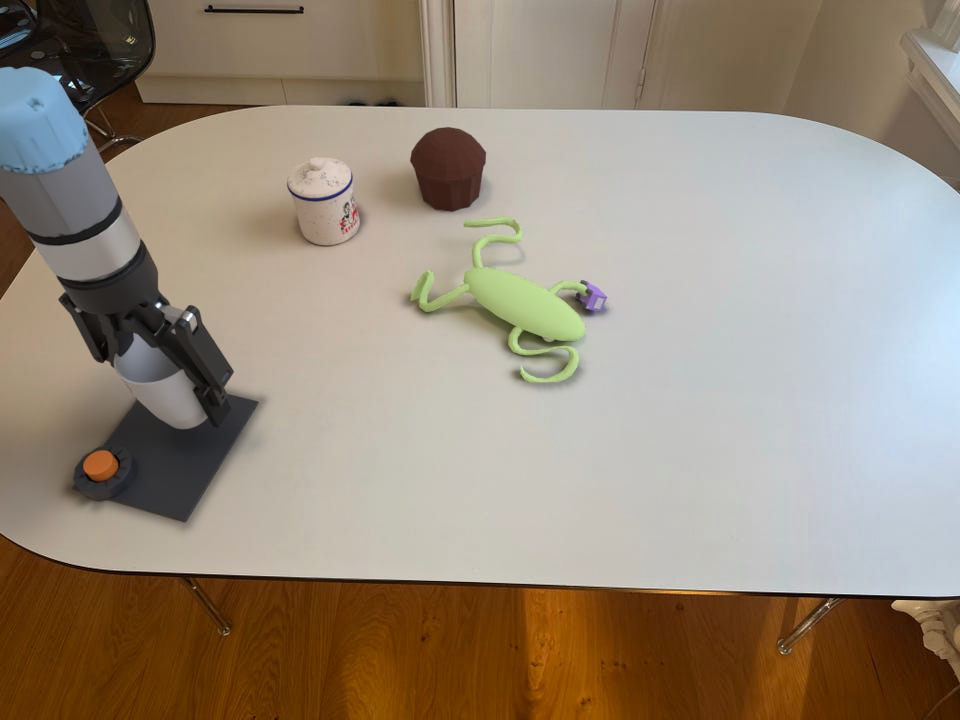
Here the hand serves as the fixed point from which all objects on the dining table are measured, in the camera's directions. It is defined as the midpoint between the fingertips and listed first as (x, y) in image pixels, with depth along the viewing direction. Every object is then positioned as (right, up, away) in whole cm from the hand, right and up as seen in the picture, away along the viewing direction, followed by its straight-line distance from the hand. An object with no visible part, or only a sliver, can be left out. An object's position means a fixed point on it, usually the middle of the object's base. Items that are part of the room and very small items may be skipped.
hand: (188, 408), depth 78 cm
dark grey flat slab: (-3, -5, +2) cm, 6 cm away
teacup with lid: (+10, +26, +28) cm, 39 cm away
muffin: (+28, +31, +31) cm, 52 cm away
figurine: (+36, +12, +16) cm, 41 cm away
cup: (0, 0, 0) cm, 0 cm away
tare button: (-8, -6, -2) cm, 11 cm away
